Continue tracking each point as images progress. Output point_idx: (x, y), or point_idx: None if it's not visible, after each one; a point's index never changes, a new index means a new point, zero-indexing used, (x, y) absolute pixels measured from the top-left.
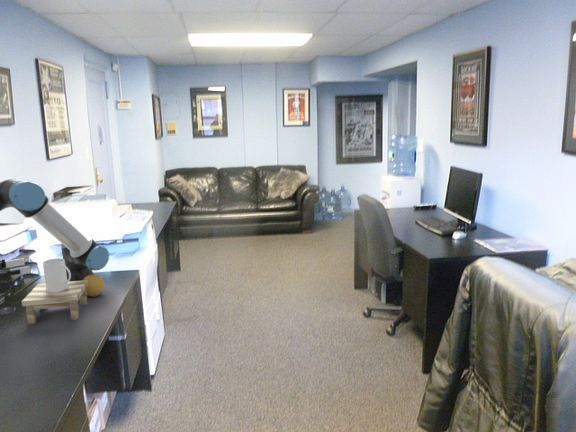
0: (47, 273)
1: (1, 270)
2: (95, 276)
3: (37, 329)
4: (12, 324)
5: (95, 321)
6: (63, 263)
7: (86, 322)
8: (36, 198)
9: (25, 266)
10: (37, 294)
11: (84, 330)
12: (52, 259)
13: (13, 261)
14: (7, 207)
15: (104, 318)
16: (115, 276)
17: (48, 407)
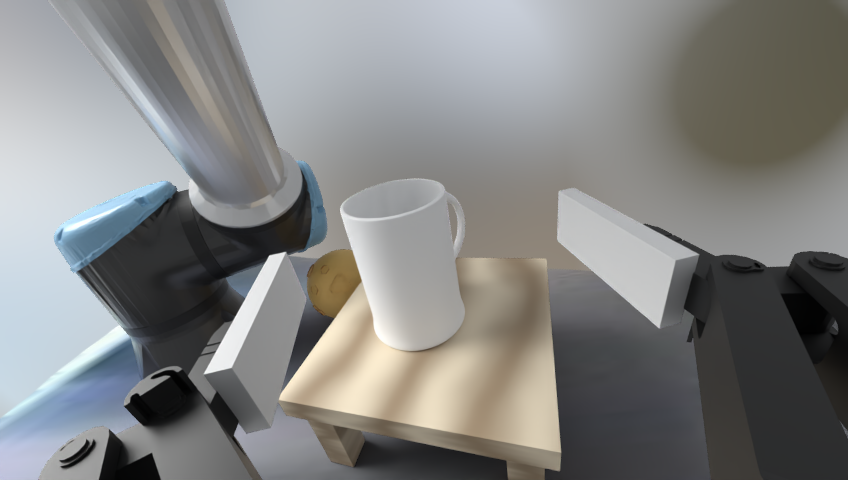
0: (439, 254)
1: (737, 334)
2: (348, 251)
3: (620, 457)
4: None
5: (567, 294)
6: (422, 188)
7: (570, 310)
8: None
9: (573, 200)
10: (458, 380)
11: (637, 310)
12: (345, 207)
13: (266, 316)
14: None
15: (549, 280)
16: (245, 282)
17: None
